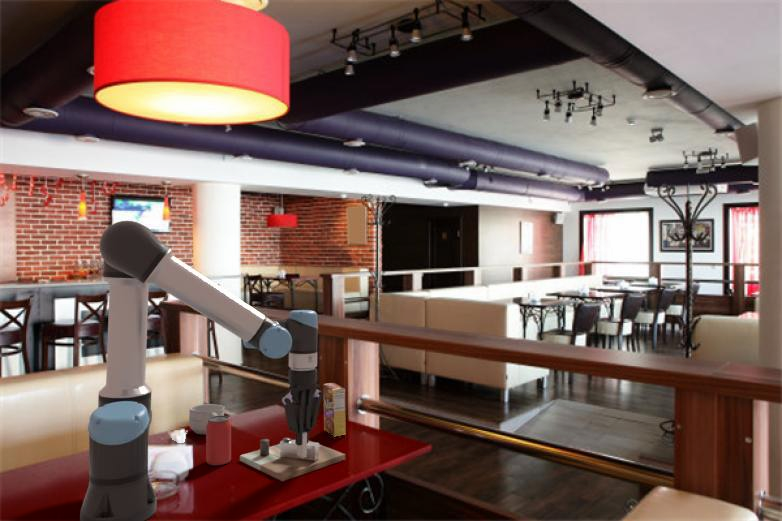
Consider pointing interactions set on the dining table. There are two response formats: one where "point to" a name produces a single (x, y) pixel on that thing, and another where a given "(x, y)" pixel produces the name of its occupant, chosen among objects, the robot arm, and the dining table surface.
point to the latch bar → (290, 450)
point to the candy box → (334, 409)
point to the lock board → (288, 461)
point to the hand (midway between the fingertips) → (301, 456)
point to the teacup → (203, 416)
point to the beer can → (218, 440)
